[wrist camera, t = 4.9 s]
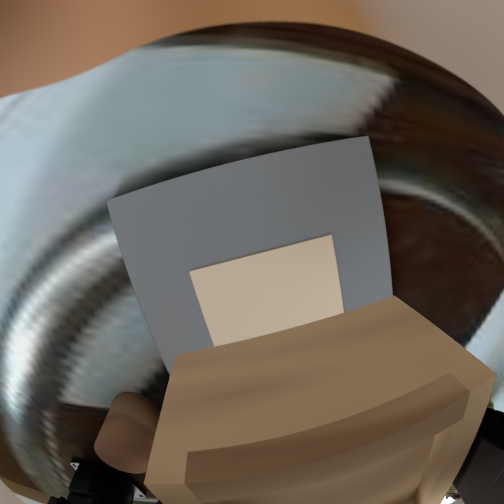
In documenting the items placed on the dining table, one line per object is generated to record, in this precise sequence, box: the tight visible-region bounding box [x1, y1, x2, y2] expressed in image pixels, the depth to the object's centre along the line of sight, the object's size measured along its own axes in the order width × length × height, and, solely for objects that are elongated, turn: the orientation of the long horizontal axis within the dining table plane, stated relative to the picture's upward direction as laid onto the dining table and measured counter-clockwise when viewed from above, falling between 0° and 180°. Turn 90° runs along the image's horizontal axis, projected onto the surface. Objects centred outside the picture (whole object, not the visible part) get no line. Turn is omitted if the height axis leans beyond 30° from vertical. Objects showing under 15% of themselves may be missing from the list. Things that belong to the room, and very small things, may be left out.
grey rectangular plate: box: [106, 136, 393, 375], centre depth 17 cm, size 18×15×1 cm
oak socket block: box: [144, 296, 497, 504], centre depth 7 cm, size 7×7×5 cm
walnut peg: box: [94, 392, 161, 474], centre depth 17 cm, size 4×4×5 cm
